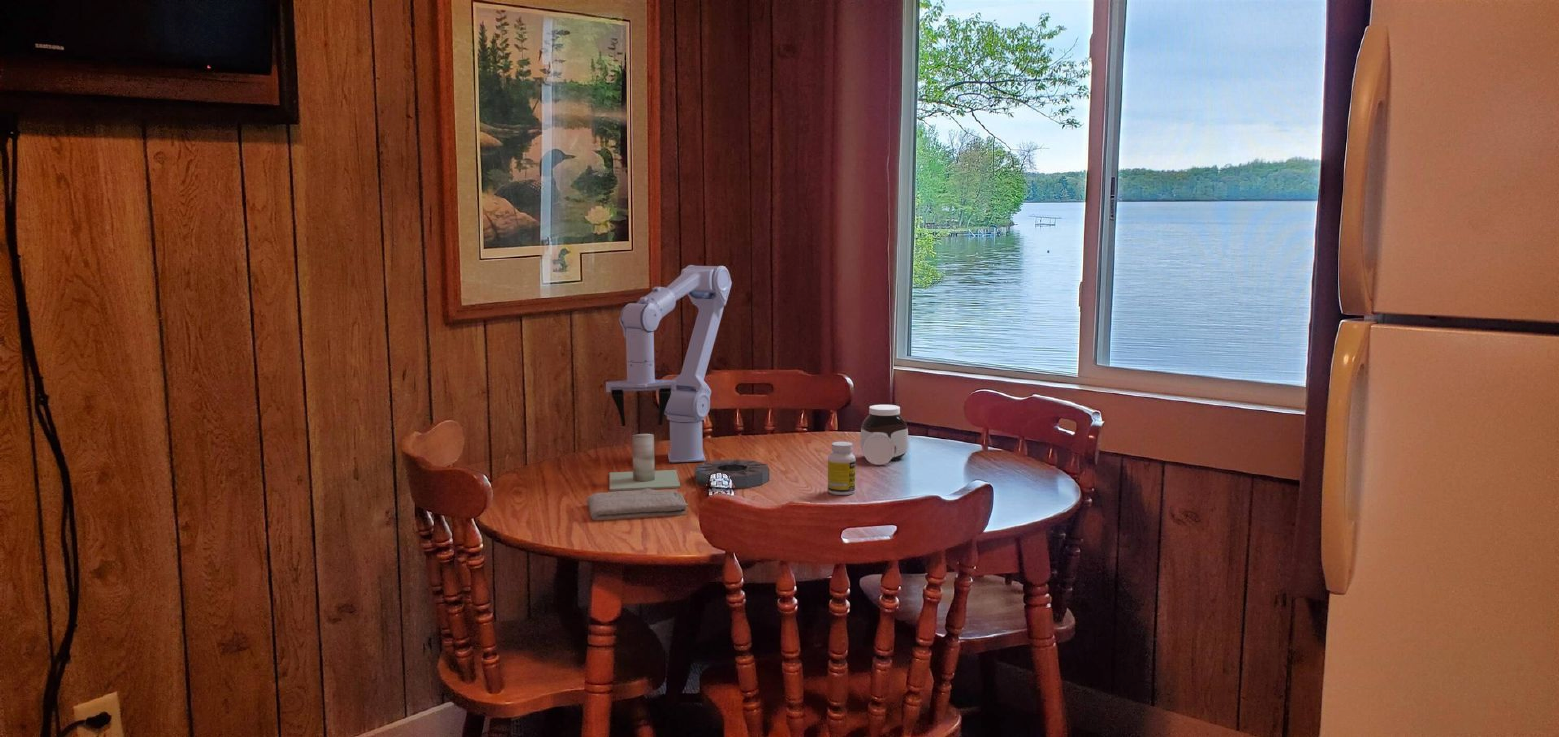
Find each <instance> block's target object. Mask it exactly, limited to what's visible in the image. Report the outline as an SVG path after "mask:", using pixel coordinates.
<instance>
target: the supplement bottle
mask: <svg viewBox="0 0 1559 737" xmlns="http://www.w3.org/2000/svg"><path fill="white" fill-rule="evenodd" d="M831 452H832V453H830V454H829V455H828V457H827V492H828V493H829V494H831V495H835V496H849V495H852V494H854V493H855V492H856V456H855V455H854V454H853V453H852V452H853V443H852V442H849V441H834V442H832V443H831Z"/></svg>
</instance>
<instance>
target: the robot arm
mask: <svg viewBox="0 0 1559 737" xmlns="http://www.w3.org/2000/svg"><path fill="white" fill-rule="evenodd" d="M732 284H733V282H732V279H731V274H730V272H729V270H728V268H727V267H726V266H724V265H717V266H716V265H715V266H714V265H695V264H694V265H693V264H689V265H687V266H686V267H685V268H682V269H681V271H680V275H679V276H678V277H677V278H675V279H674V280H673V281H672V282H670V283H669V284H668V285H667V286H666V287H663V286H654V287H652V288H651V290H652V291H651V292H649V293H648V294H646V295H645V296H641V297H640V298H639V300H638V301H637V302H636V303H635V302H631V303H627V304H626V305H625V306H624V307H623V308H622V309H621V312H620V316H619V318H618V319H619V324H620V326H621V328H622V330H623V332H622V333H623V337H624V339H625V343H626V344H625V349H626V350H625V351H626V380H616V381H606V382H605V393H611V397H612V400H613V401H614V403H615V406H616V408H617V411H618V413H619V416H620V420H621V426H622V427H626V418H625V407H624V406H625V403H624V402H625V401H624V399H625V397H624V392H638V391H639V392H641V391H642V392H644V391H645V392H646V391H657V392H658V418H657V419H658V425H659V426H663V421H664V415H665V416H666V420H669V448H670V449H669V450H670V451H668V452H667V458H668V462H669V463H692V462H706V457H705V453H704V451H703V450H704V449H703V421H704V420H705V419H706V417H707V416H708V414H709V412H710V409H711V395H712V389H711V388H710V386H709V385H708V383H707V382H705V376H706V373H707V370H708V366H709V362H710V360H711V355H712V352H713V348H714V344H715V342H716V338H717V334H718V331H719V327H720V324H721V320H722V317H723V312H724V308H725V307H726V306H727V301H728V299H729V298H728V297H729V295H730V290H731V288H732ZM684 296H688V298H689V299H690V301H691V303H692V304H693V305H694V306H695V307H697V309H698V310H697V311H698V312H697V315H696V318H695V324H694V326H693V330H692V333H691V336H690V340H689V343H688V348H687V351H686V355H685V358H684V360H683V365H682V367H681V372H680V374H678V375H677V376H676V377H674V378H672V379H656V378H655V376H656V375H655V343H654V342H655V339H654V338H655V336H654V334H655V332H654V331H656V330H657V328H658V327H659V324H660V321H661V320H662V319H663V318H664V317H665V316H667V315H668V314H669V313H670V312H672V311H673V310H674V309H675V307H676V302H677V301H678V300H681V298H683V297H684Z"/></svg>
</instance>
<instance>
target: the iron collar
mask: <svg viewBox="0 0 1559 737" xmlns="http://www.w3.org/2000/svg"><path fill="white" fill-rule="evenodd" d="M694 467H695V469H694V470H695V472H694V473H695V475H694V476H695V481H696V484H698V485H701V486H704V487H706V484H707V481H708V480H709V476H711V475H712V474H716V473H721V474H726V475H727V476H730V479H731V480H732V483H733V484H734V486H735V488H734V489H748V488H753V487H754V488H755V487H758V486H762V485H765V483H767V482H770V468H769V466H768V464H767V463H765V462H764V463H763V462H759V461H756V460H749V459H718V460H713V461H707V462H706V461H705V462H703V463H700V464H699V465H697V466H694Z"/></svg>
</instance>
